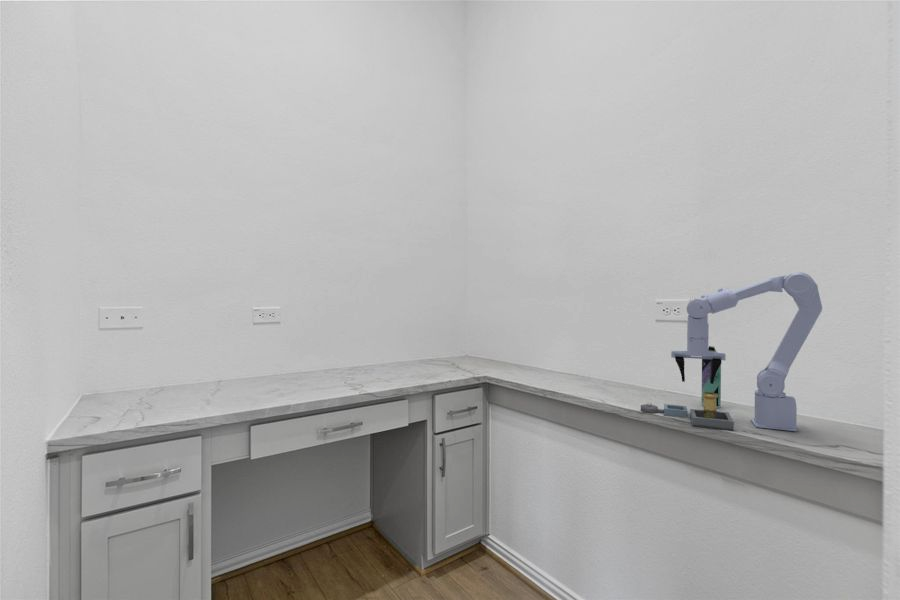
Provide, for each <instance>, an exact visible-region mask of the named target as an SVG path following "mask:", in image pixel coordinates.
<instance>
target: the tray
mask: <svg viewBox="0 0 900 600" xmlns="http://www.w3.org/2000/svg"><path fill="white" fill-rule="evenodd" d="M689 411H690V412H689V413H690V415H689V417H690V422H691V426H692V427H697V428H698V427H699V428H704V429H705V428H706V429H715V430H723V431H734V427H735V426H734V425H735V424H734V420H733V418H732V416H731V414H730V413H729V412H727V411H717V410H716V419H711V418H703V416H704V409H696V408H690V410H689Z"/></svg>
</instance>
